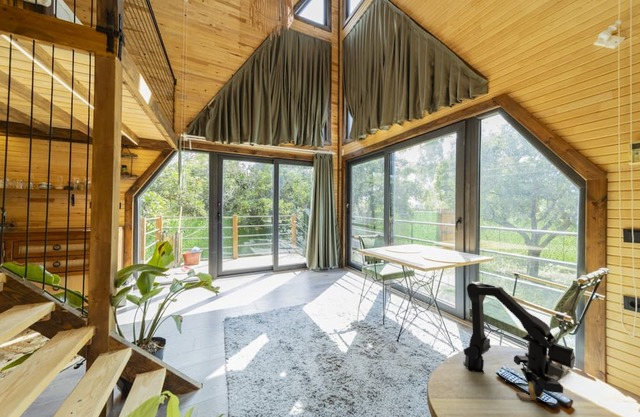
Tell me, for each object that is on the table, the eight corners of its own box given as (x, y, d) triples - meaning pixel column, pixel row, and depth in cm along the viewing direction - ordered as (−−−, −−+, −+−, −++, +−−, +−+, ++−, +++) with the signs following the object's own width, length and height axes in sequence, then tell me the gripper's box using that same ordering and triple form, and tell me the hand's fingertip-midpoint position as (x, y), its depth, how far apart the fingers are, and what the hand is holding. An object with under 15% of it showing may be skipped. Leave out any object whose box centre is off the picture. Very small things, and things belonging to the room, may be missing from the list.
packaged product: (554, 372, 113) (526, 360, 122) (553, 383, 113) (526, 370, 122) (569, 361, 122) (543, 350, 131) (569, 371, 122) (543, 360, 131)
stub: (520, 399, 102) (521, 384, 102) (516, 394, 105) (517, 379, 105) (554, 403, 101) (555, 387, 101) (548, 398, 103) (549, 383, 103)
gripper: (581, 371, 92) (578, 415, 93) (542, 343, 111) (540, 380, 111) (546, 368, 93) (544, 411, 94) (513, 341, 112) (511, 377, 112)
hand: (535, 393), depth 103 cm, fingers closed on stub, 2 cm apart
